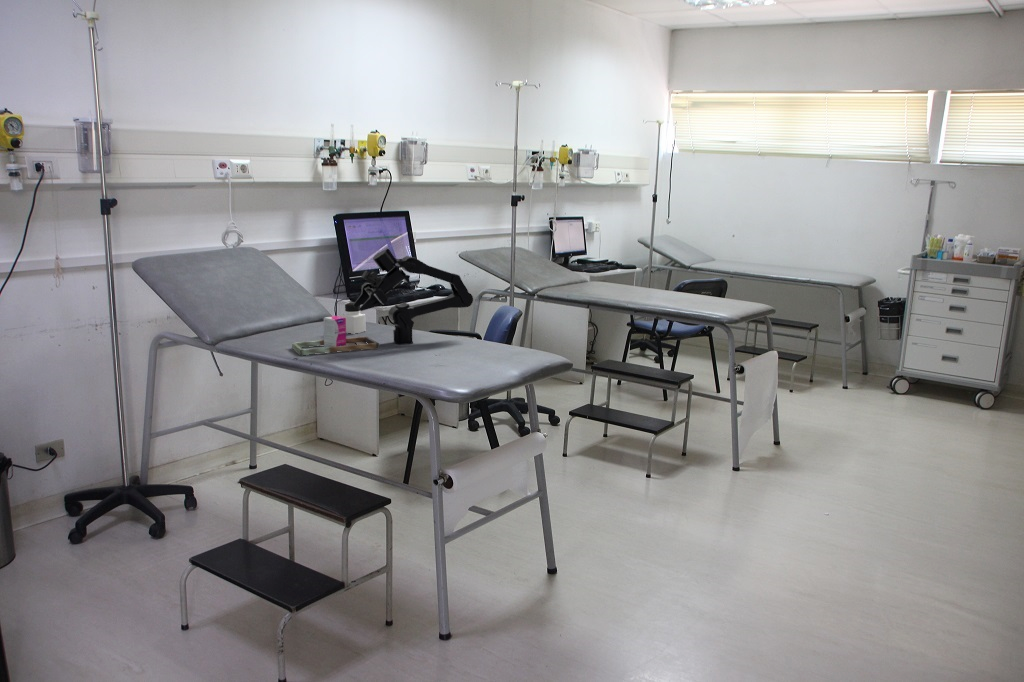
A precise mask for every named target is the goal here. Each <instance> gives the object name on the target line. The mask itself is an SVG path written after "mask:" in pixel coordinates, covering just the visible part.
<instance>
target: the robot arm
mask: <svg viewBox="0 0 1024 682" xmlns="http://www.w3.org/2000/svg"><path fill="white" fill-rule="evenodd" d="M372 260H373V261H374V263H375V264H376V265H377V266H378V268H379V269H380V270H381V271H382V272H384V271H385V272H386V273H385V274H384V275H380V276H379V275H378V273H377V272H375V271H372V272H370V271H368V270H364V271H363V273H362V274H361V277H360V278H361V279H362V280H365V281H367V282H364V283H363V284H362V285H361V287H360V289H361V293H360V295H359V296H358V298H357V299H356V300H355V301H354V302H355V303H354V305H353V306H354V307H357V306H360V308H359V309H360V312H363V311H366V310H370V309H373V308H376V307H381V306H382V305H383V306H385V305H387V303H388V302H389V297H388V296H387V295H388V293H389V292H390V291H391V292H393V291H394V290H395V289H394V288H395V287H397V286H398V285H400V283H401V282H403V281H404V283H408V284H409V283H410V277H411V275H410V274H416V275H417V274H418V275H426V276H429V277H432V278H435V279H438V280H441V281H444V282H447V283H449V284H450V289H451V292H452V293H450V294H448V296H446V297H443V298H438V299H434V300H431V301H426V302H422V303H418V304H414V305H410V304H409V303H407V302H401V303H399V304H398V303H397V304H394V306H392V307H390V309H389V311H388V313H387V314H388V319H389V320H391V321H392V322H393V324H394V329H393V330H392V331H393V332H392V333H393V334H392V335H393V336H392V337H393V342H394V343H395V345H400V344H403V345H405V344H407V345H408V344H414V341H413V327H414V324H415V321H414V320H413V319H415V318H416V317H418V316H422V315H427V314H431V313H433V312H434V313H435V312H438V311H443V310H447V309H450V308H453V309H455V308H457V309H458V308H459V309H460V308H461V309H462V308H469V307H471V306H472V304H473V303H474V297H473V295H472V294H471V293H470V292H469V290H468V288H467V287H466V285H465V283H464V282H463V279H462V278H461V275H459V274H456V273H452V272H450V271H449V272H448V271H447V270H446V271H445V270H444V269H439V268H436V267H433V266H432V265H431V266H430V265H428V264H426V263H425V262H423V261H421V260H420V259H418V258H416V257H413V256H409V255H405V256H404V257H403V258H396V257H395V256H394V254H393V253H392V251H391V250H390V248H388V247H387V248H385V249H384V250H383V249H382V250H381V251H379V252H378V253H376V254H375V255H374V256H373V258H372ZM399 267H400V268H399ZM406 272H407V273H410V274H406Z"/></svg>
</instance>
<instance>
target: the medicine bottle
mask: <svg viewBox="0 0 1024 682" xmlns="http://www.w3.org/2000/svg"><path fill="white" fill-rule="evenodd" d="M355 302H356V301H348V302H346V303H344V314H341V315H339V317H344V318H346V334H348V333H351V334H350V335H356V334H355V333H358V334H361V333H360V332H362V333H364V332H363V331H367V327H366V326H367V325H366V323H367V322H366V314H365V313H363V314H362V313H361V311H360V309H359V308H360V307H361V305H360V306H357V307H354V306H353V305H354V303H355Z"/></svg>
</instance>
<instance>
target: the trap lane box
mask: <svg viewBox="0 0 1024 682" xmlns="http://www.w3.org/2000/svg"><path fill="white" fill-rule="evenodd" d="M366 342H367V343H368V344H367V343H366ZM355 343H356V344H358V345H356V344H355ZM317 345H324V339H323V340H313V341H312V340H311V341H298V342H297V341H296V342H291V349H292V350H293V349H294V350H293V351H294V352H296V354H298V355H299V356H300V355H301V356H300V357H304V356H303V355H306V356H310V355H309V354H315V353H325V352H337V351H349V352H351V351H350V350H360V351H362V350H361V349H371V350H377V349H376V348H379V349H380V344H379V342H377V341H375V340H374V339H372V338H371V337H369V336H358V337H346V346H337V347H325V348H324V347H313V348H310V347H309V346H317ZM302 347H308V348H306V349H305V348H302Z"/></svg>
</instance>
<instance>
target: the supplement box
mask: <svg viewBox="0 0 1024 682" xmlns="http://www.w3.org/2000/svg"><path fill="white" fill-rule="evenodd" d="M346 338H347V333H346V318H344V317H340V315H333V316H326V317H325V316H324V317H323V340H324V346H323V348H325V347H337V346H346Z"/></svg>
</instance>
